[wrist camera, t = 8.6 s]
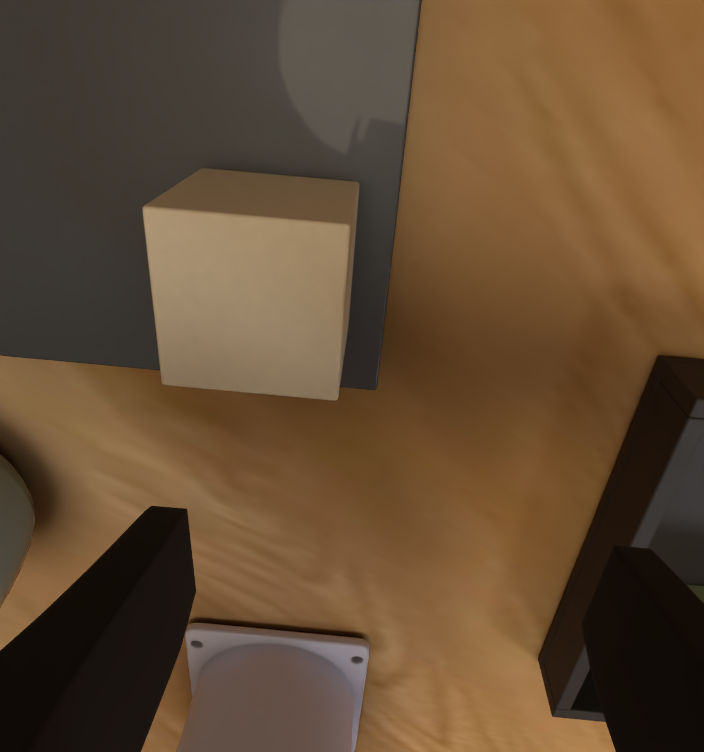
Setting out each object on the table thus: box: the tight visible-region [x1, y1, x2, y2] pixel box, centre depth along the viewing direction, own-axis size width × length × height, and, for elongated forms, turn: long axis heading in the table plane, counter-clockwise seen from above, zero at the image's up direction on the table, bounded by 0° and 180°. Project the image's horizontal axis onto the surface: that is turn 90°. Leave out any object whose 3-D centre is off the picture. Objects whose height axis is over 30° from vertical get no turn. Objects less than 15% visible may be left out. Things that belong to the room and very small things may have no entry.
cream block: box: [142, 168, 359, 401], centre depth 13 cm, size 4×4×4 cm
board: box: [0, 0, 421, 390], centre depth 14 cm, size 14×12×1 cm
